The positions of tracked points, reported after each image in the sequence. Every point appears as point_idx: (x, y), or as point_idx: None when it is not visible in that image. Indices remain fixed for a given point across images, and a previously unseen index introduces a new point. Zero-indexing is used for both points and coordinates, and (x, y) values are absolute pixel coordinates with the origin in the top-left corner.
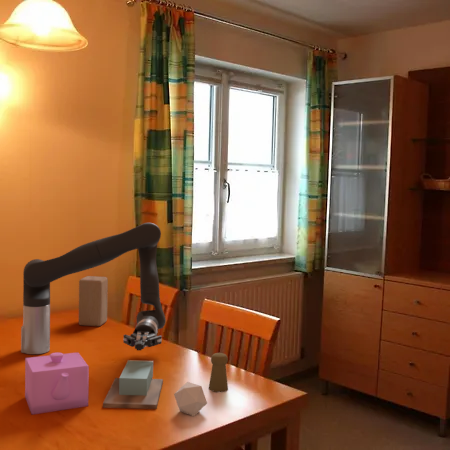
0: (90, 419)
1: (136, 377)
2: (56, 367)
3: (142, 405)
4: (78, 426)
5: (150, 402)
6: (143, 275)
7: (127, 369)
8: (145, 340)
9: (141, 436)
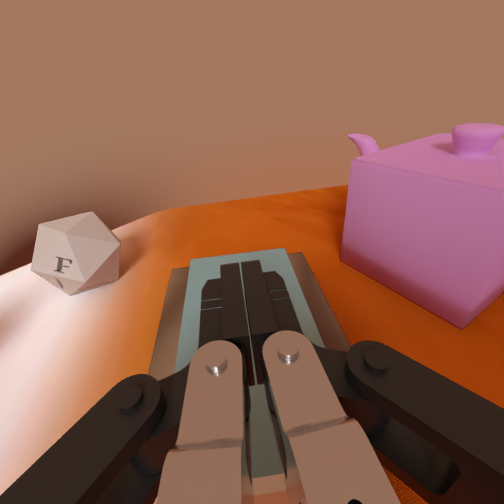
0: (298, 229)
1: (228, 260)
2: (421, 144)
3: None
4: (304, 214)
5: (187, 274)
6: None
7: None
8: (191, 375)
9: (198, 215)
